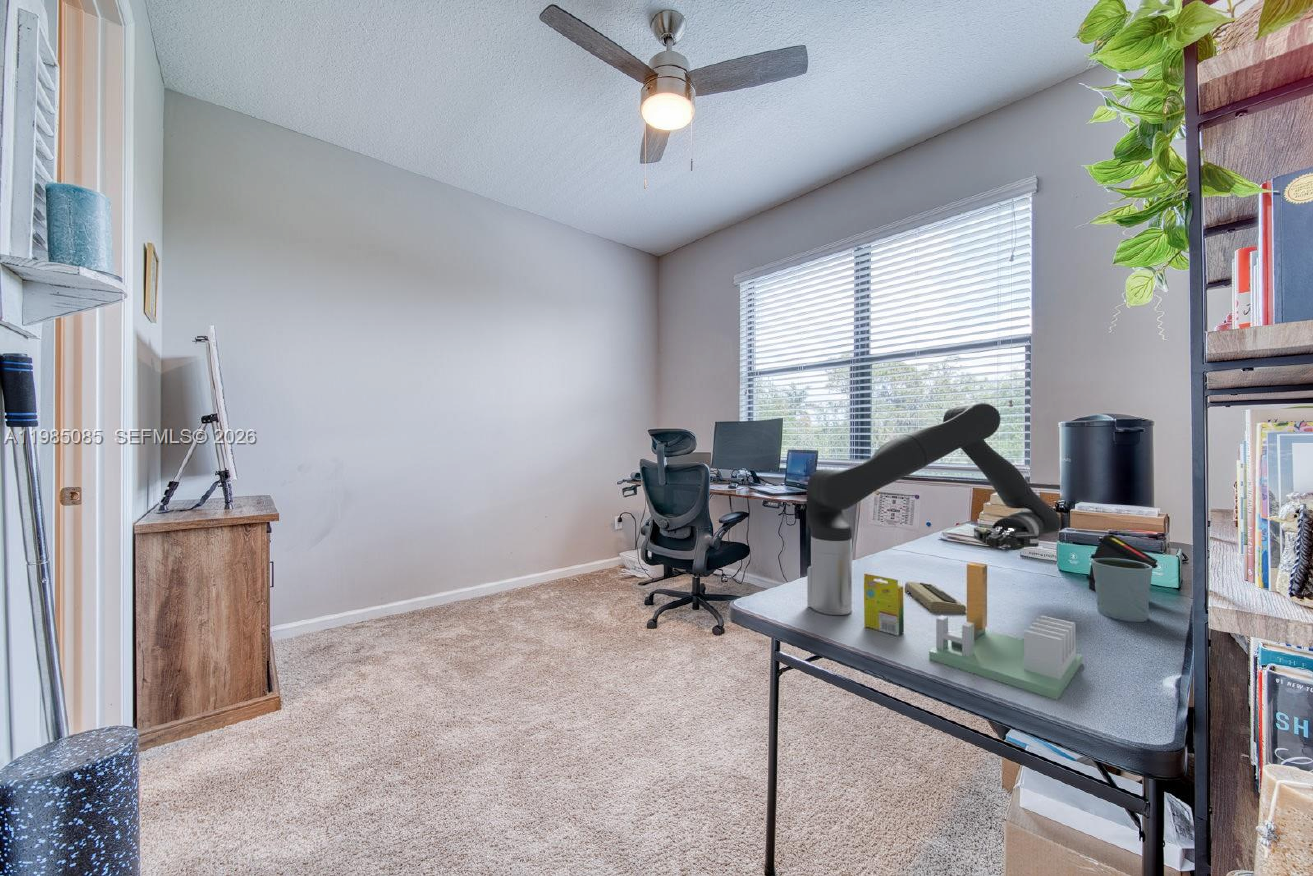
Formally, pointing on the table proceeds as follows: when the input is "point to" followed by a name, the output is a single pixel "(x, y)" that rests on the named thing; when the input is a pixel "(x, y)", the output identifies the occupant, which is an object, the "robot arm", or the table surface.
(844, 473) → the robot arm
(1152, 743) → the table surface
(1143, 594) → the grey green bin
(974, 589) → the wooden block
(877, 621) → the crayon box
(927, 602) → the computer
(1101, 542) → the black striped box
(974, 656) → the heatsink board
